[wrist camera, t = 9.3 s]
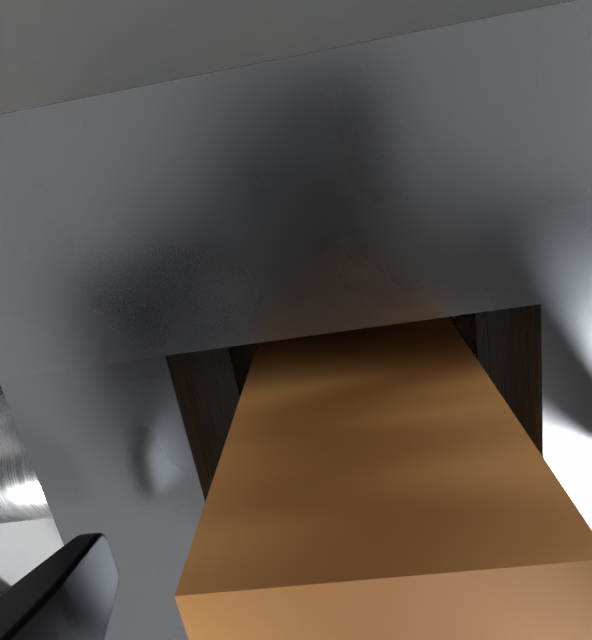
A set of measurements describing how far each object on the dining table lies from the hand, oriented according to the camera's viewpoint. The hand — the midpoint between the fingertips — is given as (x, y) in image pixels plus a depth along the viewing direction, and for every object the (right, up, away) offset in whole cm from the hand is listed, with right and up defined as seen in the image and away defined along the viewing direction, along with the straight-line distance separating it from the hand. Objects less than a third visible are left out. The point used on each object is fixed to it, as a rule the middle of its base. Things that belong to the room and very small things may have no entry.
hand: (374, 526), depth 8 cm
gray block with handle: (-4, +1, +5) cm, 6 cm away
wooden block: (0, +2, +5) cm, 5 cm away
